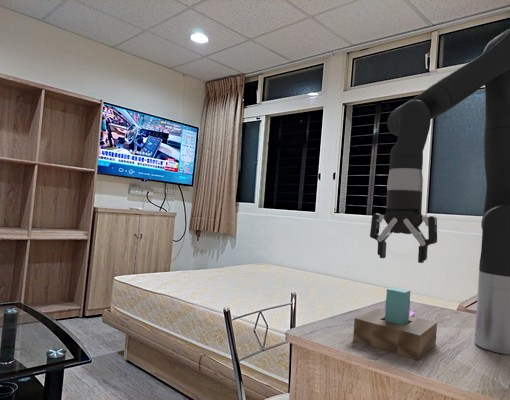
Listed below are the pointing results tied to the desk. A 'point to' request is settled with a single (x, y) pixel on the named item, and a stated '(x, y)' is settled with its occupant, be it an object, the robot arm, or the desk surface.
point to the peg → (397, 306)
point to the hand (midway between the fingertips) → (401, 260)
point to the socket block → (395, 334)
